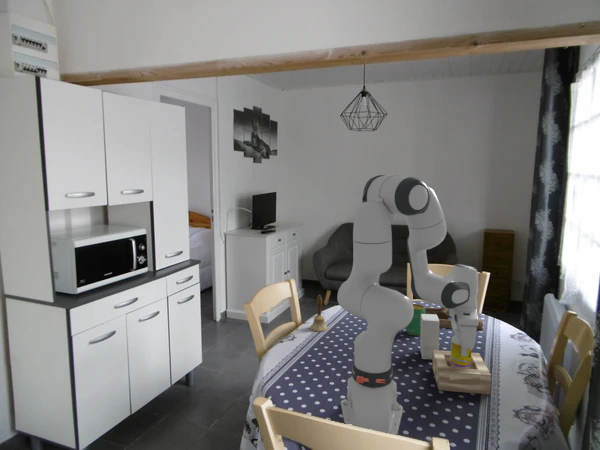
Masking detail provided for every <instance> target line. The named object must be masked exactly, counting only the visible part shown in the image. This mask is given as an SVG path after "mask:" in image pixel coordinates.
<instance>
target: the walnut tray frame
mask: <svg viewBox="0 0 600 450" xmlns="http://www.w3.org/2000/svg"><path fill="white" fill-rule="evenodd" d="M424 308H425V314H432V313H430V312H436V313H437V312H439V311H440V309H441V308H442V307H440V308H439V307H425V306H424ZM477 316H478V320H479V324H478V326H476V330H477V329H481V331H483V328H484V326H483V325H484V322H483V320H482V319H481V318H480V316H479V314H477ZM439 328H442V329H444V328H447V329H453V328H452V326H451V319H448V320H447V319H439Z"/></svg>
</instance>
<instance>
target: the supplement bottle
mask: <svg viewBox="0 0 600 450" xmlns="http://www.w3.org/2000/svg"><path fill="white" fill-rule="evenodd" d="M460 349H461V345H460V343H459V341H458V338H457V330H456V329H455V332H454V335H453V336H451V340H450V351H451V357H450V364H451V365H452V366H453V367H454V368H465V369H469V368H470V366H471V353H472V350H473V349H468V350H467V356H461V353H460Z"/></svg>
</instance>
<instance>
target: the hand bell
mask: <svg viewBox="0 0 600 450" xmlns="http://www.w3.org/2000/svg"><path fill="white" fill-rule="evenodd" d="M315 303H316V306H317V312H316V313H317V315H315V316H314V318H313V322H312V324H311V325H310V327H309V329H310V331H313V332H318V333H322V332H326V331H328V330H329V327H328V326H327V325H326V322H325V318H324V316H323V315H322V306H323V298H322V295H321V294H318V295H317V297H316V302H315Z"/></svg>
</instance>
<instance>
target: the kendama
mask: <svg viewBox="0 0 600 450" xmlns="http://www.w3.org/2000/svg"><path fill="white" fill-rule="evenodd" d="M440 308H441V309H440V311H439V312H437V313H436V312H430V313H432V314H437V316H438V319H447V320H449V319H451V318H452V317H450V316H449V309H448V308H444V307H440Z"/></svg>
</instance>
